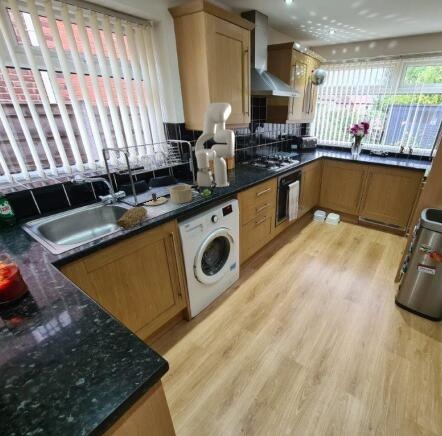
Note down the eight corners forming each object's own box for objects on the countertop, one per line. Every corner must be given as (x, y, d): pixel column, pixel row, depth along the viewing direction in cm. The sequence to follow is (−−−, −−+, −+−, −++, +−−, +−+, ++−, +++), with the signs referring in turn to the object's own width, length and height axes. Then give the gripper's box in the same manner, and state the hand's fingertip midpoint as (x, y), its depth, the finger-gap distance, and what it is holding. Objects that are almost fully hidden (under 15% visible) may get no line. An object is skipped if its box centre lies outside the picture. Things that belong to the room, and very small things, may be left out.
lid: (150, 198, 169) (148, 189, 166) (170, 198, 167) (169, 190, 165) (138, 205, 156) (136, 196, 153) (160, 206, 154) (158, 197, 151)
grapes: (204, 193, 176) (204, 187, 174) (211, 194, 176) (210, 187, 174) (200, 198, 168) (199, 191, 166) (207, 198, 167) (206, 192, 165)
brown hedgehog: (134, 232, 125) (156, 210, 140) (125, 220, 120) (150, 199, 136) (115, 233, 129) (139, 212, 145) (107, 221, 125) (132, 201, 140)
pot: (173, 196, 172) (171, 184, 169) (198, 196, 170) (197, 185, 167) (164, 202, 160) (161, 190, 157) (191, 203, 158) (190, 191, 154)
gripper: (217, 168, 167) (219, 193, 175) (193, 168, 169) (196, 192, 176) (214, 171, 161) (216, 196, 168) (189, 170, 163) (192, 195, 170)
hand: (206, 194), depth 172 cm, fingers open, 8 cm apart
